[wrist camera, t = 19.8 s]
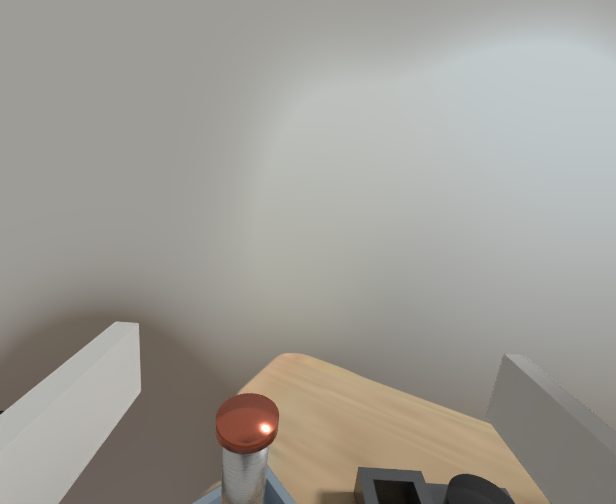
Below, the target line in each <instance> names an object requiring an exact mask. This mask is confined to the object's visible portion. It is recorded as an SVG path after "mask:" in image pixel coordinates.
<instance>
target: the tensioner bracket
mask: <svg viewBox="0 0 616 504" xmlns="http://www.w3.org/2000/svg"><path fill="white" fill-rule="evenodd" d="M354 495H355V501H356V504H515V503H514V501H513V500H512V498H511V497H510V495H509V493H508V492H507V490H506V489H505V488H499V487H497V486H496V485H494V484H493V483H491V482H489V481H488V480H486V479H483V478H481V477H478V476H475V475H471V474H460V475H457V476H455V477H453V478H452V479H451V481H450V482H449V484H448V485H446V484H430V483H425V480H424V477H423V475H422V472H421V471H412V470H397V469H381V468H366V467H358V472H357V478H356V483H355V489H354Z"/></svg>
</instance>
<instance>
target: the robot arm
mask: <svg viewBox="0 0 616 504" xmlns="http://www.w3.org/2000/svg"><path fill="white" fill-rule="evenodd" d="M139 351H140V350H139V324H138V323H127V322H115V323H114V324H112V325H111V326H110V327H109V328H107V329H106V330H105V331H104V332H102V333H101V334H100V335H99V336H97V337H96V338H95V339H94V340H92V341H91V342H90V343H89V344H88V345H86V346H85V347H84V348H83V349H81V350H80V351H79V352H78V353H76V354H75V355H74V356H73V357H71V358H70V359H69V360H68V361H66V362H65V363H64V364H63V365H61V366H60V367H59V368H58V369H57V370H55V371H54V372H53V373H52V374H50V375H49V376H48V377H47V378H45V379H44V380H43V381H42V382H40V383H39V384H38V385H37V386H36V387H34V388H33V389H32V390H30V391H29V392H28V393H27V394H25V395H24V396H23V397H22V398H20V399H19V400H18V401H17V402H16V403H14V404H13V405H12V406H11V407H9V408H8V409H7V410H6V411H0V504H58V503H59V502H60V501H61V499H62V498H63V497H64V495H65V494H66V493H67V491H68V490H69V488H70V487H71V486H72V484H73V483H74V481H75V480H76V479H77V478H78V476H79V475H80V474H81V472H82V471H83V469H84V468H85V467H86V465H87V464H88V463H89V461H90V460H91V458H92V457H93V456H94V454H95V453H96V452H97V450H98V449H99V448H100V446H101V445H102V444H103V442H104V441H105V439H106V438H107V436H108V435H109V434H110V433H111V431H112V430H113V429H114V427H115V426H116V424H117V423H118V421H119V420H120V419H121V418H122V416H123V415H124V414H125V412H126V411H127V409H128V408H129V407H130V405H131V404H132V403H133V401H134V400H135V398H136V397H137V396H138V394H139V393H140V392H141V376H140V352H139ZM486 418H487V419H488V420H489V422H490V423H491V424H492V426H493V427H494V428H495V430H496V431H497V432H498V434H499V435H500V436H501V438H502V439H503V440H504V442H505V443H506V444H507V446H508V447H509V448H510V450H511V451H512V452H513V454H514V455H515V456H516V458H517V459H518V460H519V462H520V463H521V464H522V466H523V467H524V468H525V470H526V471H527V472H528V474H529V475H530V476H531V478H532V479H533V480H534V482H535V483H536V484H537V486H538V487H539V488H540V490H541V491H542V492H543V494H544V495H545V496H546V498H547V499H548V500H549V502H550V503H551V504H616V431H615V430H614V429H613V428H611V427H610V426H609V425H608V424H606V423H605V422H604V421H603V420H602V419H601V418H599V417H598V416H597V415H596V414H594V413H593V412H592V411H591V410H590V409H588V408H587V407H586V406H585V405H584V404H582V403H581V402H580V401H579V400H578V399H576V398H575V397H574V396H573V395H571V394H570V393H569V392H568V391H567V390H565V389H564V388H563V387H562V386H561V385H559V384H558V383H557V382H556V381H555V380H553V379H552V378H551V377H550V376H549V375H547V374H546V373H545V372H544V371H542V370H541V369H540V368H539V367H538V366H536V365H535V364H534V363H533V362H532V361H530V360H529V359H528V358H527V357H526V356H524V355H515V354H504V355H503V358H502V362H501V365H500V369H499V372H498V376H497V379H496V382H495V386H494V389H493V392H492V396H491V399H490V403H489V406H488V410H487V413H486Z"/></svg>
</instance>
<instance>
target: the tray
mask: <svg viewBox="0 0 616 504" xmlns="http://www.w3.org/2000/svg"><path fill="white" fill-rule="evenodd" d="M221 487H222V485H221V486H219V487H218V488H216V489H214V490H213V491H211V492H210V493H208V494H206V495H205V496H203V497H202V498H200V499H198V500H197V501H195V502H194V503H192V504H221ZM264 504H296V502H295V501H294V500H293V498H292V497H291V496H290V494H289V493H288V492H287V490H286V489H285V488H284V486H283V485H282V484H281V482H280V481H279V480H278V478H277V477H276V476H275V474H274V473H273V472H272V470H271V469H270V468H269V466H268V465H267V473H266V484H265V496H264Z"/></svg>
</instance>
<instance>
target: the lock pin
mask: <svg viewBox="0 0 616 504" xmlns="http://www.w3.org/2000/svg"><path fill="white" fill-rule="evenodd" d="M278 421H279V411H278V408H277V406H276V405H275V403H274V402H273V401H272V400H270V399H269V398H267V397H265V396H263V395H259V394H253V393H247V394H240V395H237V396H234V397H232V398H230V399H228V400H227V401H226V402H224V403H223V404H222V405H221V407H220V408H219V410H218V412H217V415H216V437H217V440H218V442H219V443H220V444H221V446H222V447H223V463H222V487H221V504H264V496H265V484H266V473H267V461H268V449H269V445H270V444H271V443H272V442H273V440H274V439H275V437H276V435H277V431H278Z"/></svg>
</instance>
